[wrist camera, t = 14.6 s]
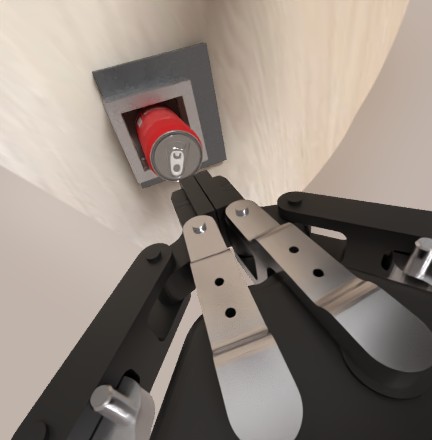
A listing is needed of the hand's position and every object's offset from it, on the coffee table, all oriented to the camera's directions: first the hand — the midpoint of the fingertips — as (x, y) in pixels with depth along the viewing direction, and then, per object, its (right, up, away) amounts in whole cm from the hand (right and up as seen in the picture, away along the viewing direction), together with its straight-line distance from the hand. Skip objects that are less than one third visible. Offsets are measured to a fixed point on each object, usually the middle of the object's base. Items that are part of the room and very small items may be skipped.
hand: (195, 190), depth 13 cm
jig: (-5, +11, +18) cm, 22 cm away
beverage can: (-6, +10, +18) cm, 22 cm away
